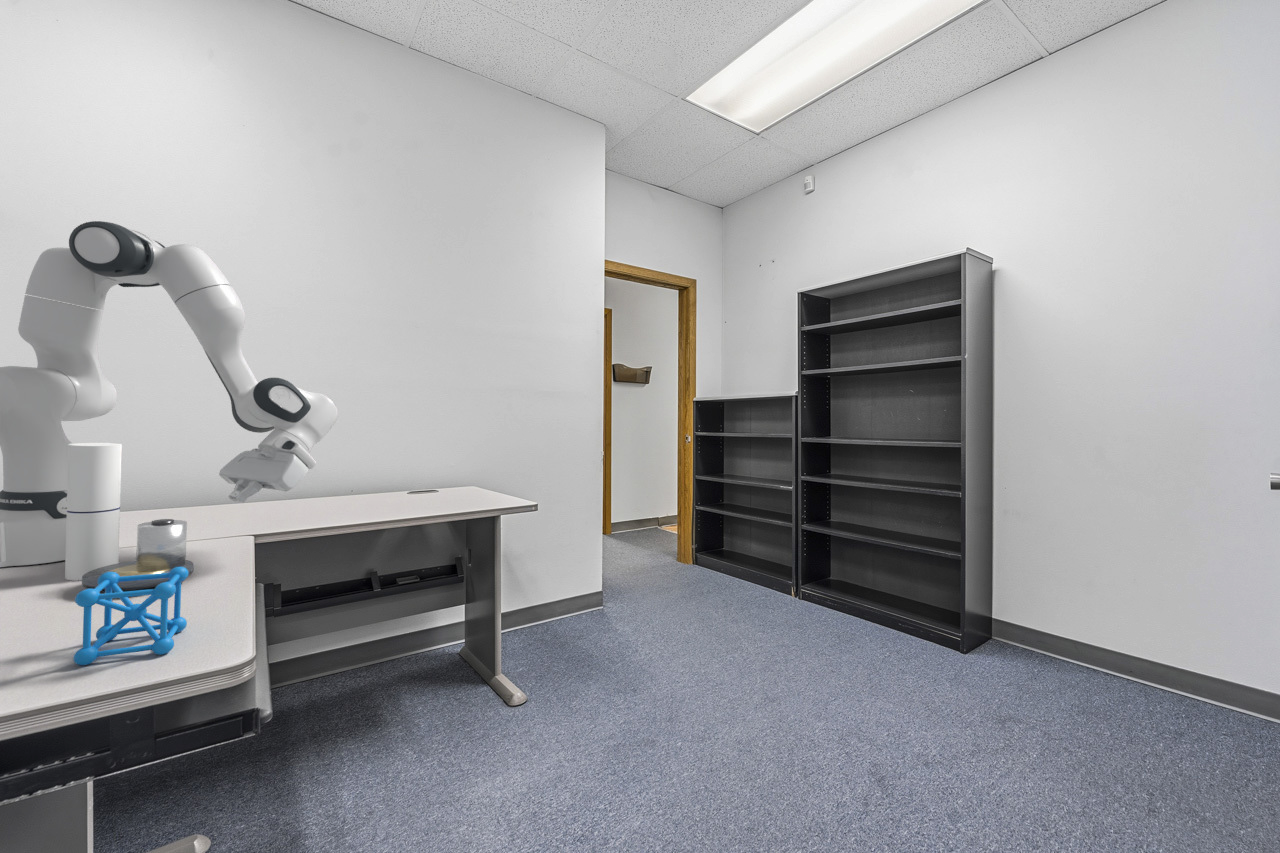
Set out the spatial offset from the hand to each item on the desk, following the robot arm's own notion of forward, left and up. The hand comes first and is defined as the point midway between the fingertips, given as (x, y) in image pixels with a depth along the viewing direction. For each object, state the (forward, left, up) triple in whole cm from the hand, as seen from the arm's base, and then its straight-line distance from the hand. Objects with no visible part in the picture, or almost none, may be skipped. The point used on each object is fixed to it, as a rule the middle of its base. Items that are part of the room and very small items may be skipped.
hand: (235, 500), depth 113 cm
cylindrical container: (-17, -14, -14) cm, 26 cm away
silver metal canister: (-3, -12, -11) cm, 17 cm away
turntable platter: (-4, -16, -12) cm, 20 cm away
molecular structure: (+20, -36, -14) cm, 44 cm away
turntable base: (-4, -16, -13) cm, 21 cm away
